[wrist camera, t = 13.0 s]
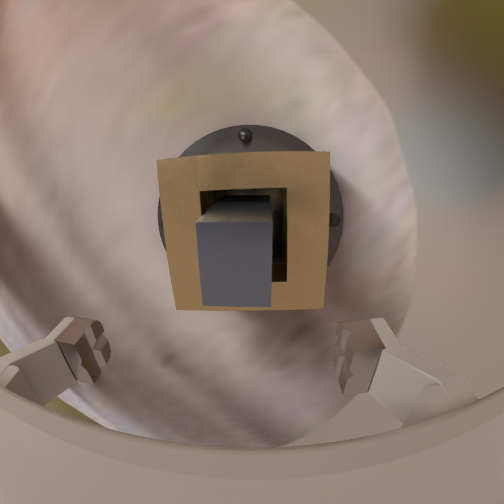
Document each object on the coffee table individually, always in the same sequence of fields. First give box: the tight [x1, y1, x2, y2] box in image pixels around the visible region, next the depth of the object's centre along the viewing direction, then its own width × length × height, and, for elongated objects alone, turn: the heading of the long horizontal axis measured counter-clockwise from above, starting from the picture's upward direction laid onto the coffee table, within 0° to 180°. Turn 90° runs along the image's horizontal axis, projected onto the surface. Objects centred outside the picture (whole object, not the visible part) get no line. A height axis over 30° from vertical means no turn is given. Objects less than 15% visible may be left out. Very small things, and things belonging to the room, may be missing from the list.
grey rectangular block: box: [196, 195, 273, 307], centre depth 20 cm, size 4×5×10 cm
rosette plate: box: [157, 125, 343, 311], centre depth 23 cm, size 17×17×6 cm
